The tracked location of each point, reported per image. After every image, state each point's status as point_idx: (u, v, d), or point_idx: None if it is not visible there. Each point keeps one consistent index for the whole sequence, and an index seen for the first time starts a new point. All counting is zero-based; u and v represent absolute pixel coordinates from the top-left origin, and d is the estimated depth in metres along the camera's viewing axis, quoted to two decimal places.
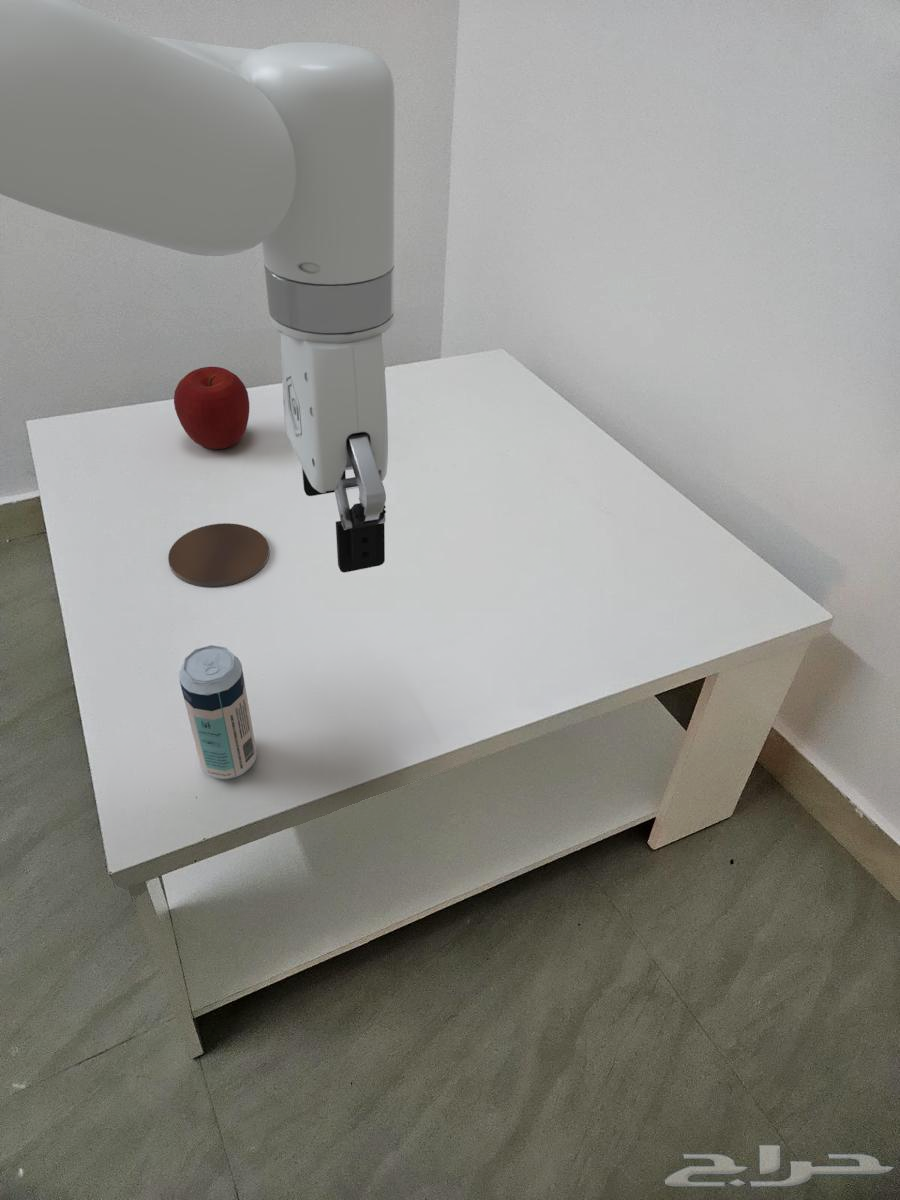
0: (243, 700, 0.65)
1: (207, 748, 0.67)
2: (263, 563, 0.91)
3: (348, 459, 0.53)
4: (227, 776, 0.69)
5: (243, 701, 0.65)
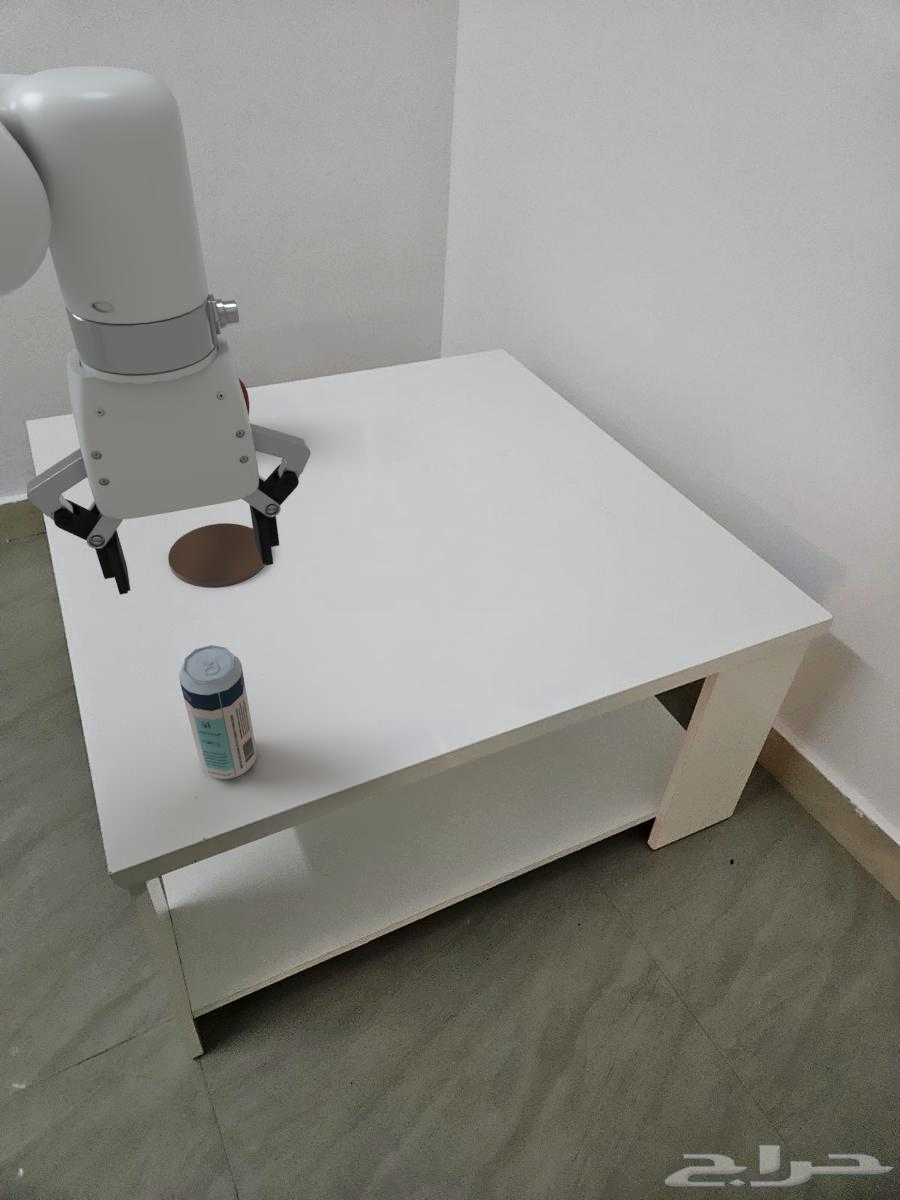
0: (243, 700, 0.65)
1: (207, 748, 0.67)
2: None
3: None
4: (227, 776, 0.69)
5: (243, 701, 0.65)
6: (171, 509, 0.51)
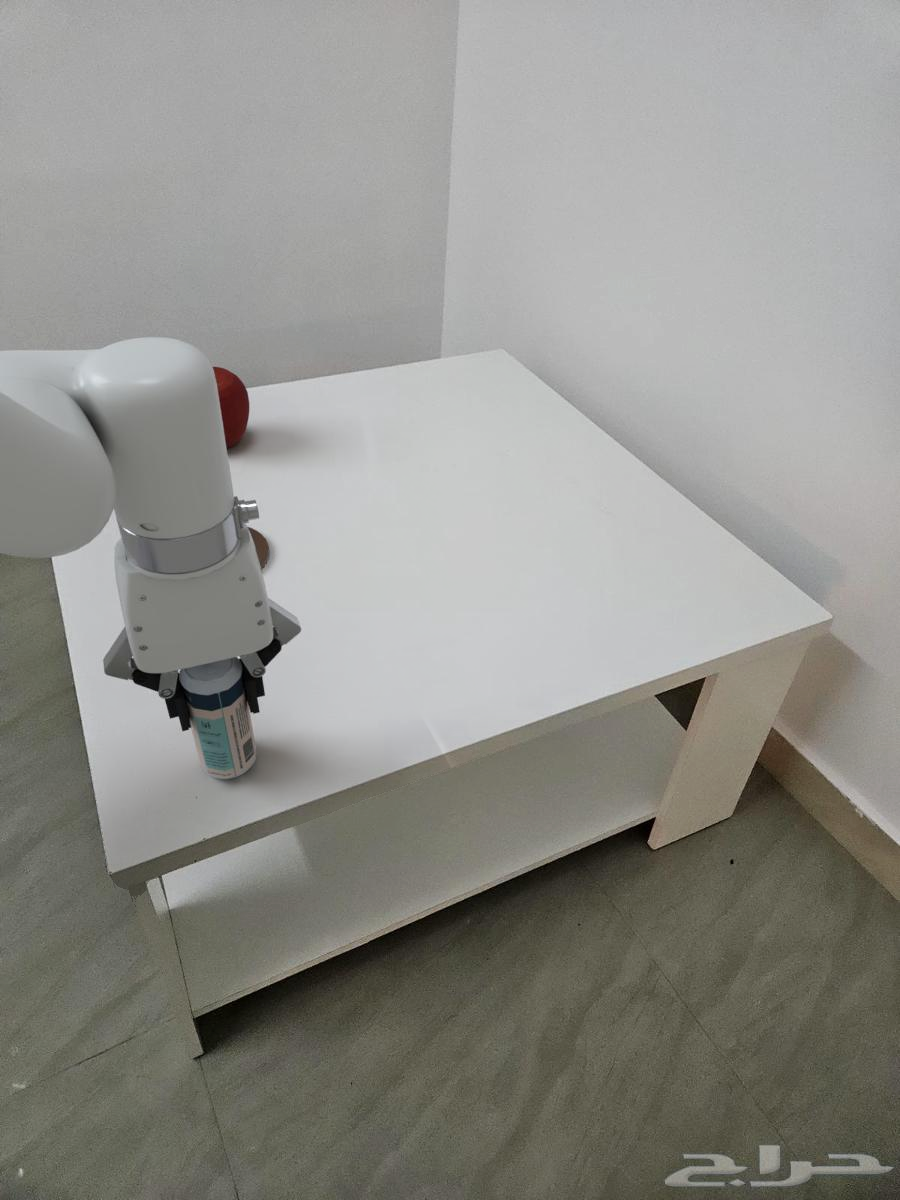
0: (243, 700, 0.65)
1: (207, 748, 0.67)
2: (263, 563, 0.91)
3: None
4: (227, 776, 0.69)
5: (243, 701, 0.65)
6: (198, 663, 0.60)
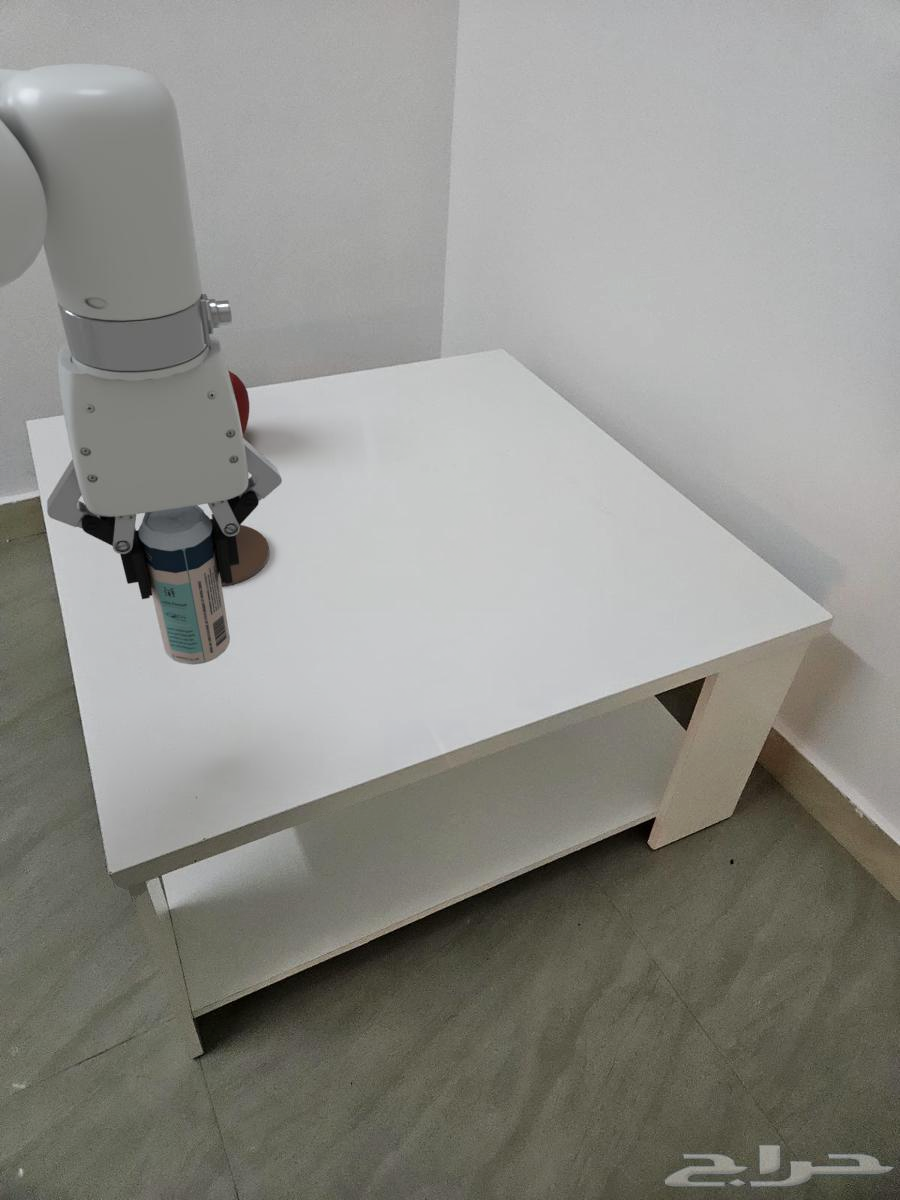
0: (213, 566, 0.56)
1: (171, 624, 0.58)
2: (263, 563, 0.91)
3: None
4: (194, 662, 0.60)
5: (213, 567, 0.56)
6: (159, 508, 0.51)
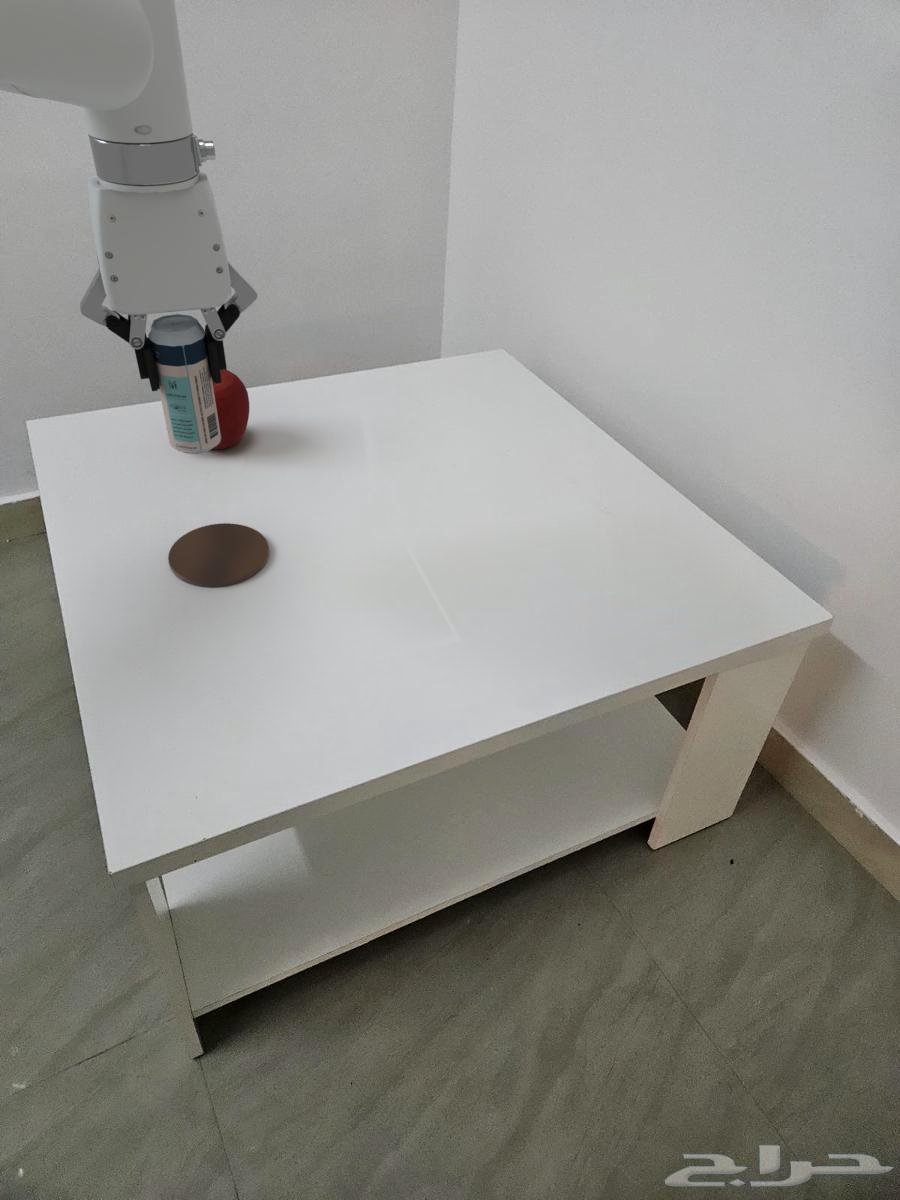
0: (206, 366, 0.73)
1: (174, 415, 0.74)
2: (263, 563, 0.91)
3: None
4: (193, 451, 0.77)
5: (206, 367, 0.73)
6: (164, 308, 0.68)
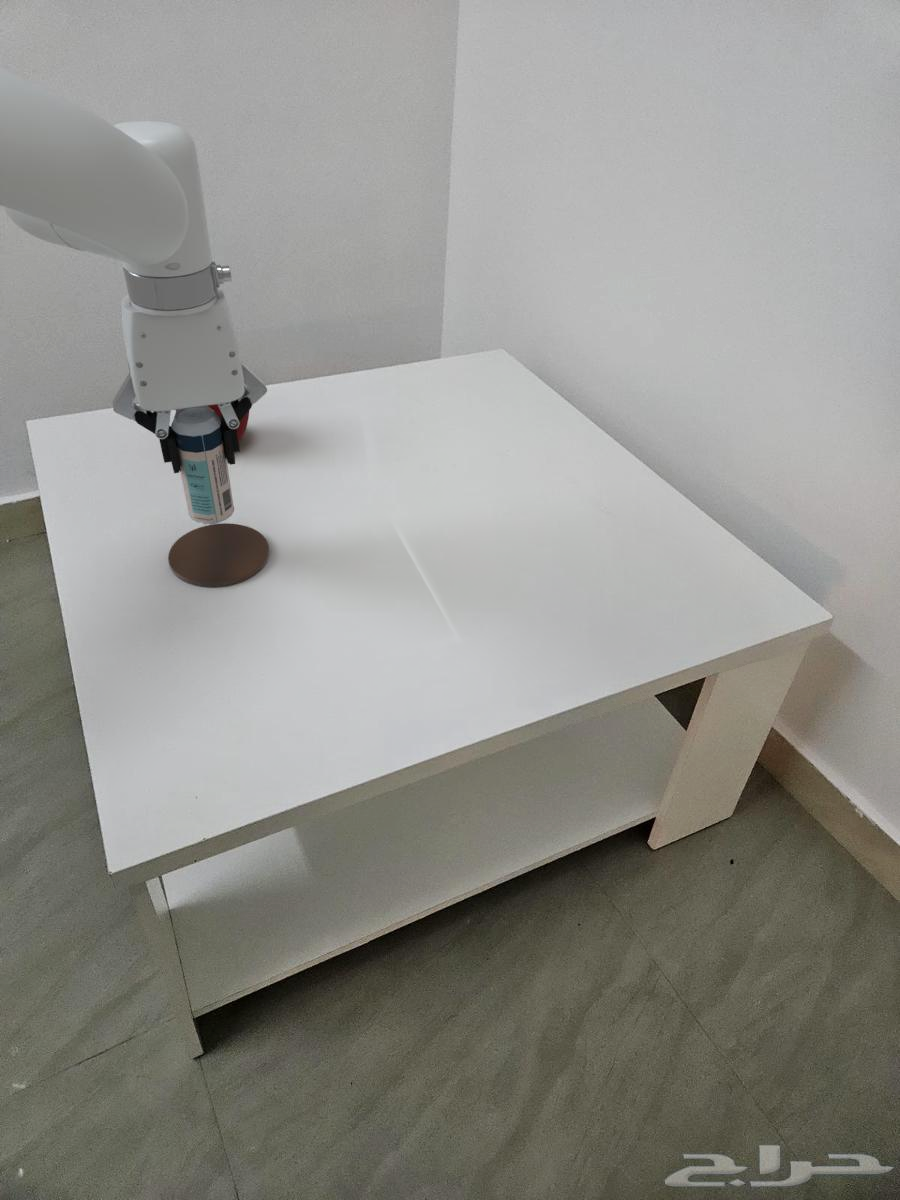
0: (222, 450, 0.83)
1: (193, 492, 0.84)
2: (263, 563, 0.91)
3: None
4: (210, 522, 0.86)
5: (222, 451, 0.83)
6: (186, 405, 0.78)
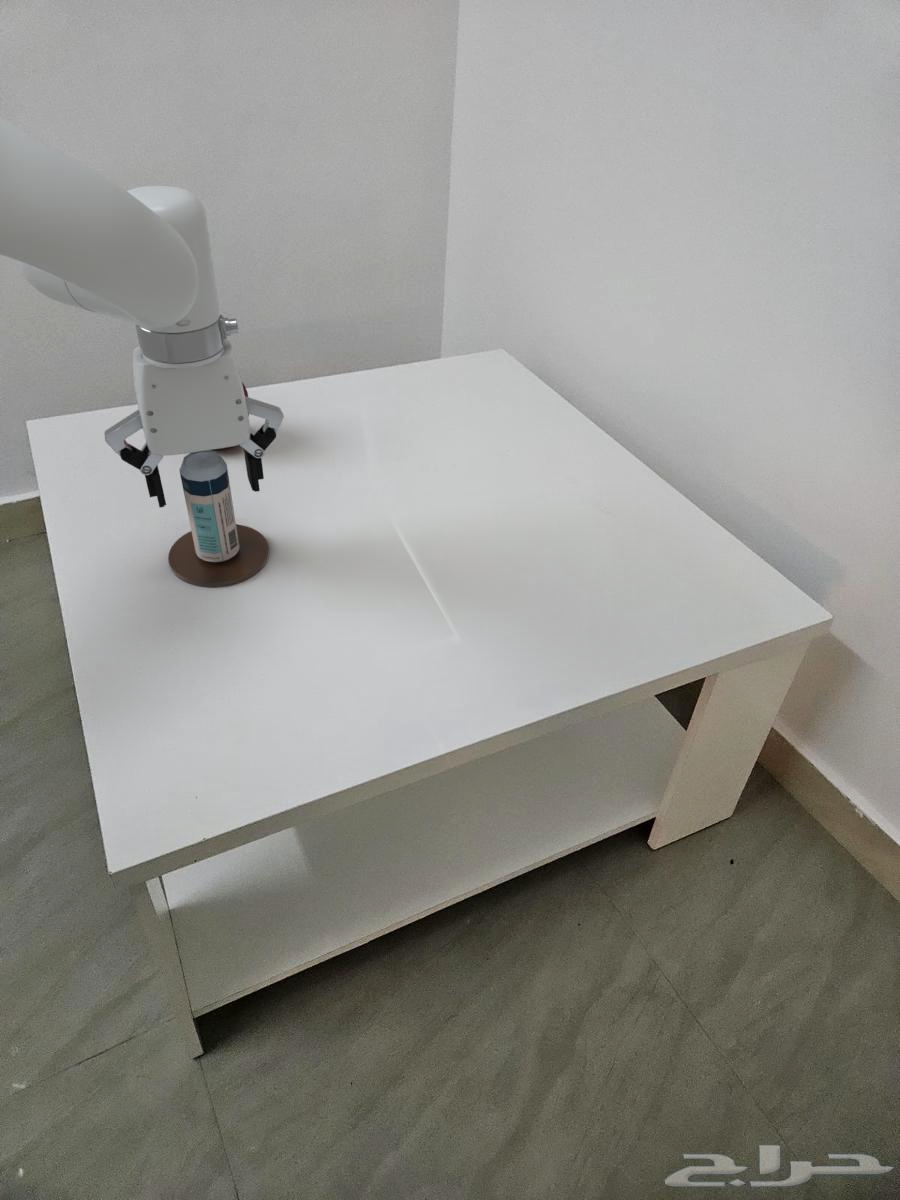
0: (228, 493, 0.86)
1: (200, 533, 0.87)
2: (263, 563, 0.91)
3: None
4: (216, 560, 0.90)
5: (228, 494, 0.86)
6: (194, 450, 0.81)
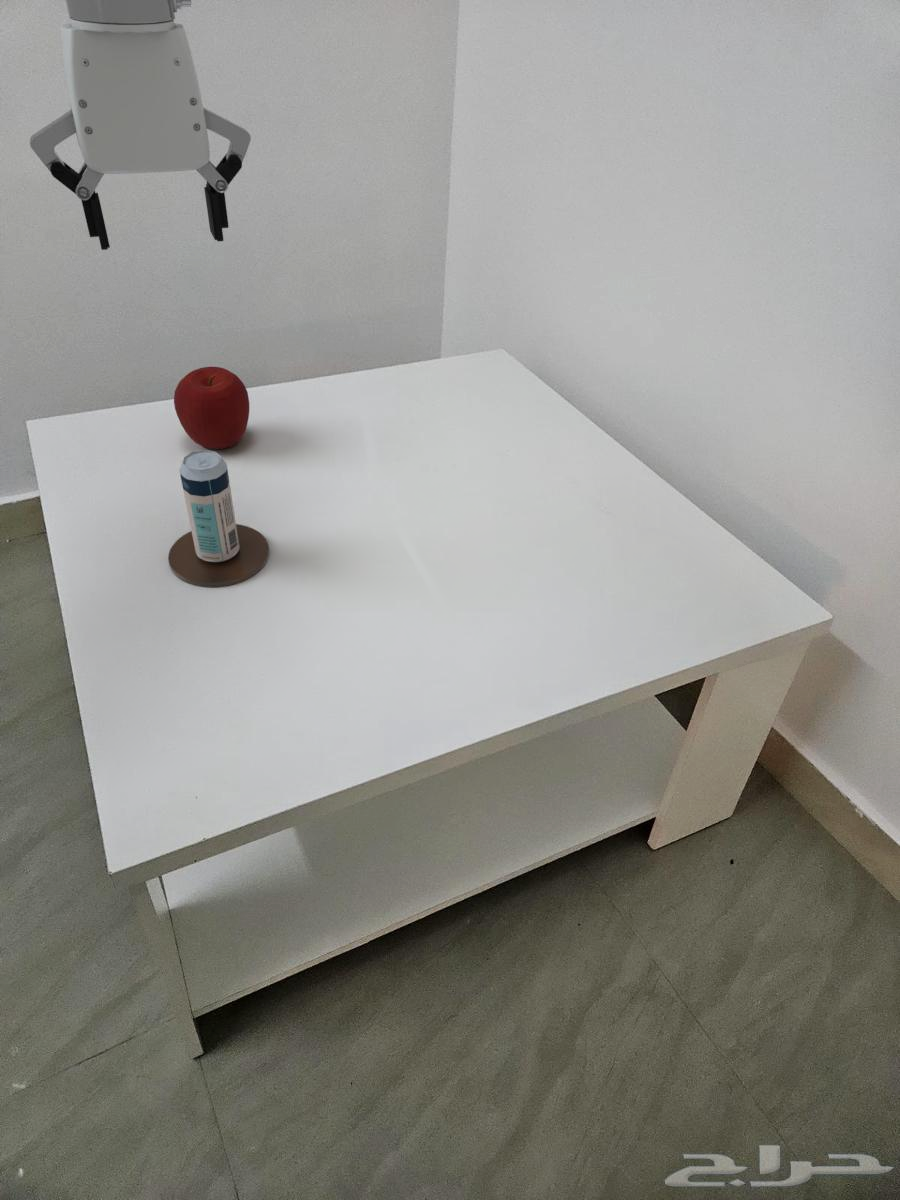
0: (228, 493, 0.86)
1: (200, 533, 0.87)
2: (263, 563, 0.91)
3: None
4: (216, 560, 0.90)
5: (228, 494, 0.86)
6: (141, 167, 0.67)
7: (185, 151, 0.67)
